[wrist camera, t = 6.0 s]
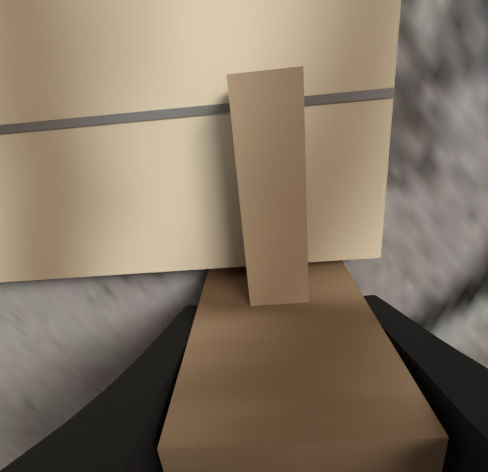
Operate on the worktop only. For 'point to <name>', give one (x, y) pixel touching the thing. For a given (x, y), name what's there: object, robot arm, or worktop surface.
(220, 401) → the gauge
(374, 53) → the board
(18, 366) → the worktop surface
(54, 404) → the worktop surface
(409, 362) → the robot arm
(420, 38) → the worktop surface
